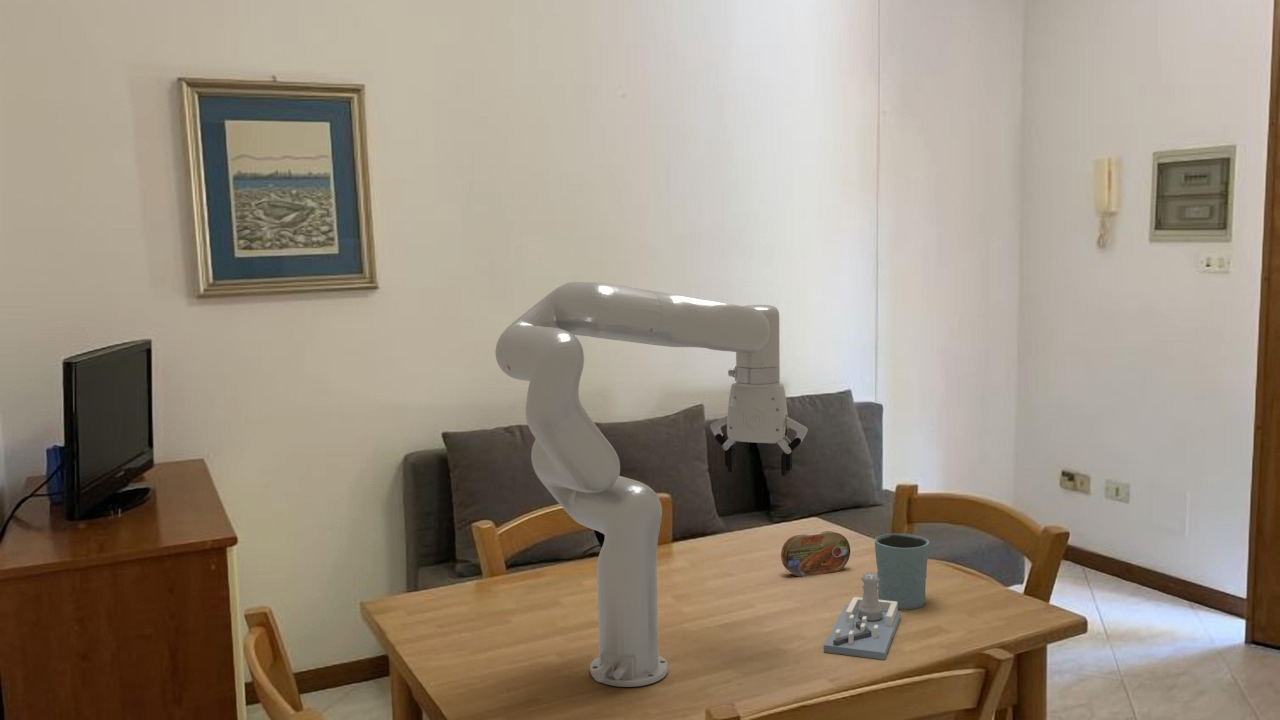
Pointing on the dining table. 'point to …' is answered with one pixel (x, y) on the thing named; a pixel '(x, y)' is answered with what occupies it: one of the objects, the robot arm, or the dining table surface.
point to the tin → (815, 553)
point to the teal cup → (902, 569)
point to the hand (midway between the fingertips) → (758, 472)
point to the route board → (863, 631)
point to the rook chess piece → (870, 598)
